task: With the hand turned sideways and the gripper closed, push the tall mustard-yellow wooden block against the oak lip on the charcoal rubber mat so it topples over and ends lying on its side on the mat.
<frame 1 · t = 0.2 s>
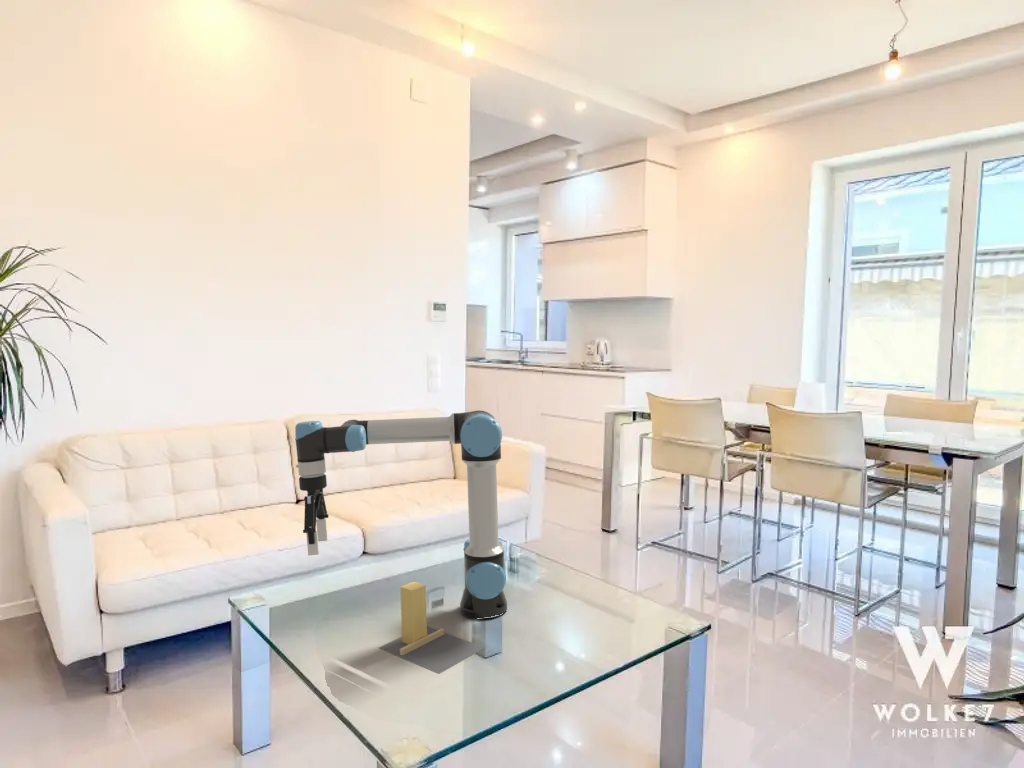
hand: (318, 547, 189), 27 cm above the table, tool pointing down, fingers open, 13 cm apart
mustard block: (414, 640, 185), point 1 cm above the table, touching tipping mat
tipping mat: (426, 648, 182), on the table
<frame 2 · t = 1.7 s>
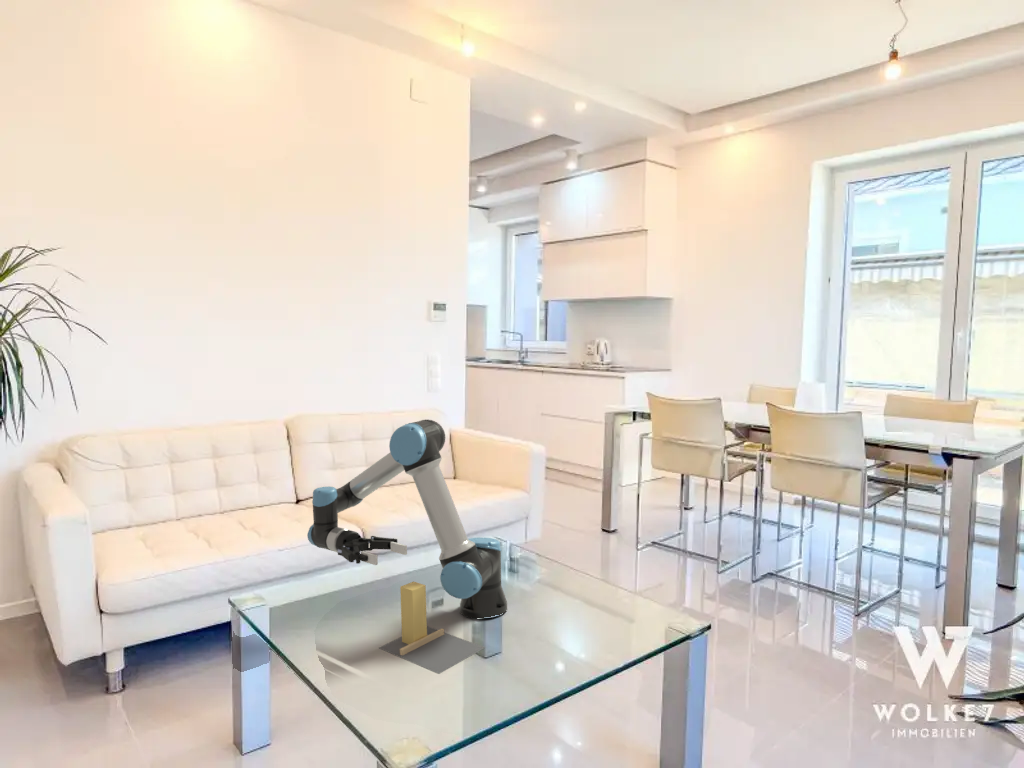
hand: (391, 555, 190), 24 cm above the table, tool horizontal, fingers open, 10 cm apart
nothing on the table moved.
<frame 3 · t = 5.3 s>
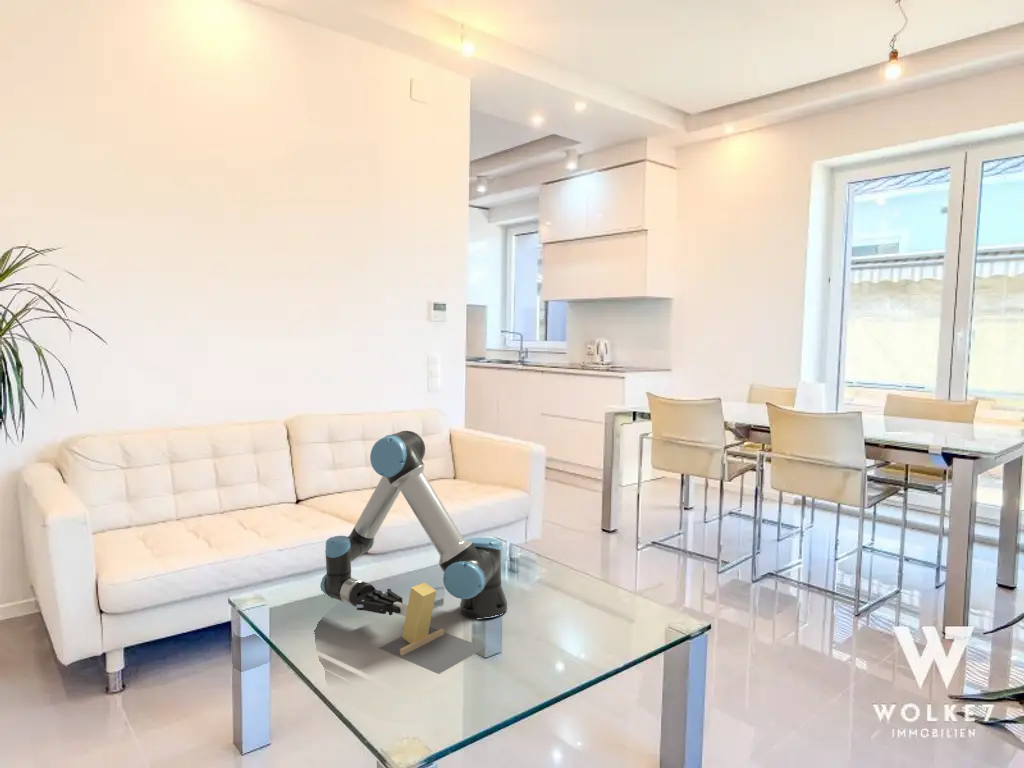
hand: (410, 612, 185), 9 cm above the table, tool horizontal, fingers closed
mustard block: (414, 638, 185), point 1 cm above the table, tilted 16°, touching gripper, tipping mat
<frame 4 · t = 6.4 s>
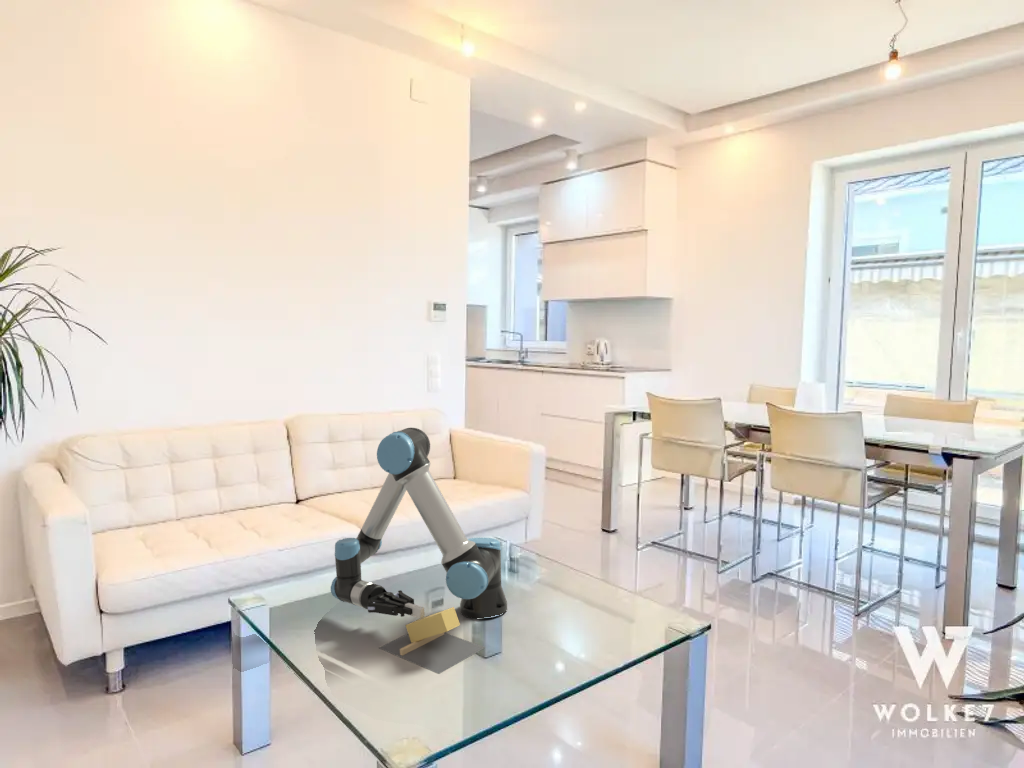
hand: (422, 613, 182), 10 cm above the table, tool horizontal, fingers closed
mustard block: (415, 630, 185), point 4 cm above the table, tilted 64°, touching gripper, tipping mat
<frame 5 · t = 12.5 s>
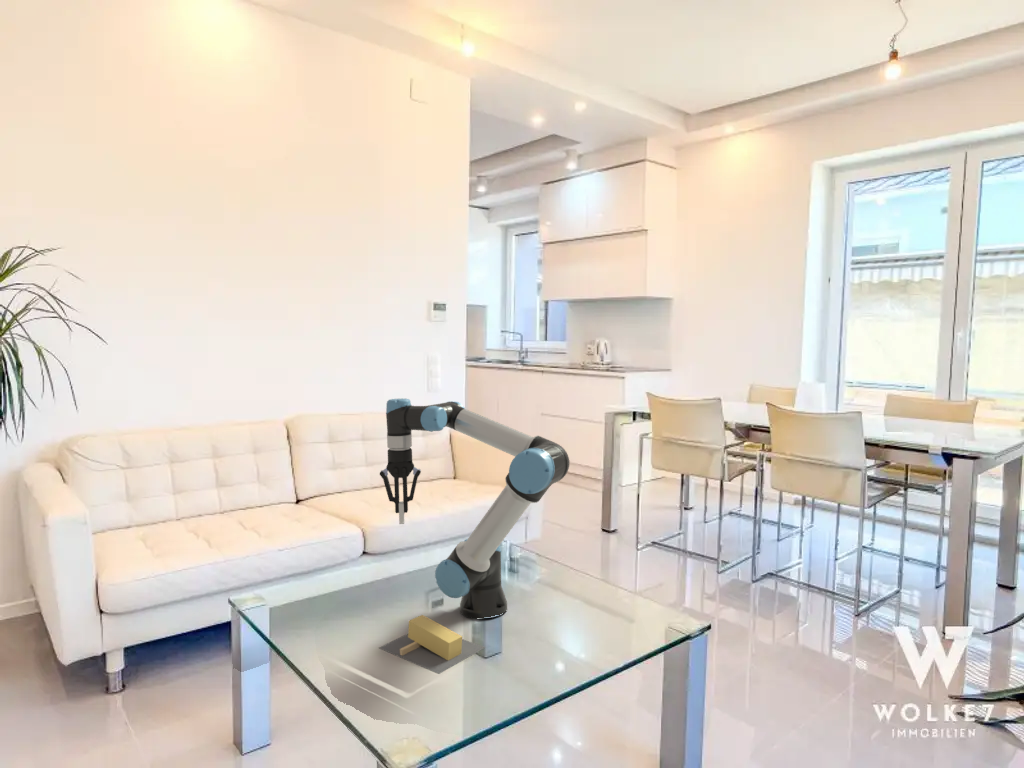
hand: (402, 522, 204), 29 cm above the table, tool pointing down, fingers closed
mustard block: (415, 625, 185), point 5 cm above the table, tilted 97°, touching tipping mat
at the end: mustard block tilted 97°; mustard block touching tipping mat; mustard block 4.6 cm from the tipping mat (horizontally) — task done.
